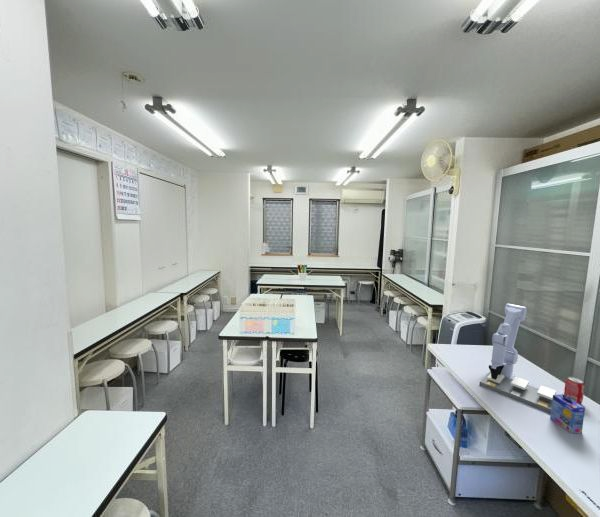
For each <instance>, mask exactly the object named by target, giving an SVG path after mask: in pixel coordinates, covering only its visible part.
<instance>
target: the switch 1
mask: <svg viewBox="0 0 600 517" xmlns="http://www.w3.org/2000/svg"><path fill="white" fill-rule="evenodd" d="M504 377H505V376H504V375H501V374H500V375H498V376H497V379H496V380H495V379H493V378H492V377H491V374H490V375H489V376H488V377H487V379H488V380H491V381H494V382H496V383H499V384H500V382H501V381H502V380H503V379H504Z"/></svg>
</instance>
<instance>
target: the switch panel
mask: <svg viewBox="0 0 600 517" xmlns="http://www.w3.org/2000/svg"><path fill="white" fill-rule="evenodd" d="M490 374H491V372H490V371H489V372H488V373H487V374H486V375H485V376H484V377H483V378H482V379H481V380H480V381H479V386H481V387H483V388H487V389H489V390H491V391H493V392H497V393H499V394H501V395H504V396H507V397H509V398H511V399H514V400H516V401H519V402H521V403H524V404H526V405H529V406H531V407H534V408H537V409H538V410H541V411H544V412H547V413H549V414H551V407H552V400H551V399H548V398H545V397H542V396H540V395H537V392H538V390H539V388H538V387H534V386H532V385H529V384H528V386H527V387H526V389H525V390H523V389H521V388H518V387H515V386H513V385H511V382H512V381H513V379H514V378H512V379H510V378H507V377H504V379H503V380H502V381H501V382H500V384H499V383H496V382H494V381H491V380H488V379H487V377H488V376H489V375H490Z"/></svg>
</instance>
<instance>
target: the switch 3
mask: <svg viewBox="0 0 600 517" xmlns="http://www.w3.org/2000/svg"><path fill="white" fill-rule="evenodd" d="M538 389H539V390H538V392H537V395H540V396H542V397H545V398H548V399H551V400H552V399H553V395H557V394H556V393H557V390H555V389H553V388H550V387H547V386H544V385H540V387H539V388H538Z"/></svg>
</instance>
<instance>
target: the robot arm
mask: <svg viewBox="0 0 600 517" xmlns="http://www.w3.org/2000/svg"><path fill="white" fill-rule="evenodd" d="M527 313H528V309H527V307H526V306H521V305H517V304H512V303H506V304H505V306H504V314H505V317H504V320H503V323H500V324H499V326H498V327H497V328H498V329H497V330H496V332H495V333H493V334H492V336H491V337H492V338H491V342H492V354H491V360H490V361H491V362H490V363H491V365H490V364H489V365H488V369H489V372H491V377H492V378H493V379H495V380H496V379H497V376H498V375H500V374H501V375H504V376H505V377H507V378H510V379H514V376H515V374H514V373H513V372H514V365H515V364H517V361H518V357H519V356H518V355H519V353H518V350H517V349H515V343H516V339H517V336H518V335H517V334H518V330H519V327H520V324H521V322H525V320H526V318H527Z"/></svg>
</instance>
